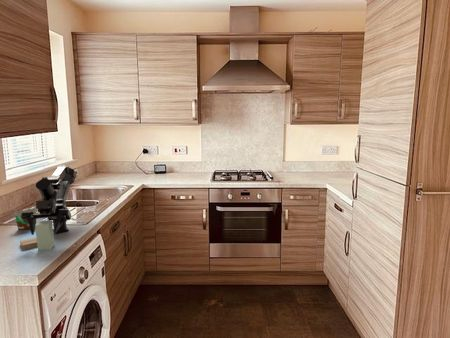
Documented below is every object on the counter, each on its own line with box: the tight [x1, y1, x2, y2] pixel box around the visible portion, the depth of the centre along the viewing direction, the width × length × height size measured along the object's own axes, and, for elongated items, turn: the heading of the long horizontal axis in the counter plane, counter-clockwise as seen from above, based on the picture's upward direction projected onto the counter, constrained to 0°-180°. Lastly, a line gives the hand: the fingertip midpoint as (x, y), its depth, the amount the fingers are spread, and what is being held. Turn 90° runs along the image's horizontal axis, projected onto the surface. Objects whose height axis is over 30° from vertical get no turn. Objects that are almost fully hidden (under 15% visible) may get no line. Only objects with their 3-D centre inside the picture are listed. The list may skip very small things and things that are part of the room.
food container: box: [13, 204, 38, 231], centre depth 164 cm, size 12×6×10 cm, turn 170°
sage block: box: [35, 220, 55, 251], centre depth 138 cm, size 5×5×11 cm
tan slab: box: [19, 236, 38, 251], centre depth 141 cm, size 7×7×2 cm
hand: (43, 233), depth 136 cm, fingers open, 8 cm apart
